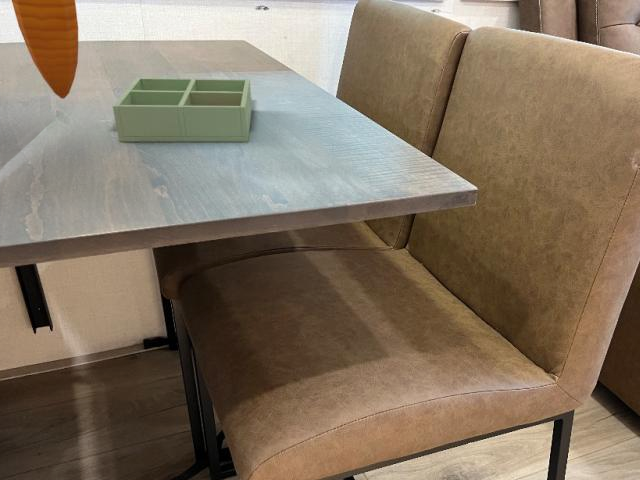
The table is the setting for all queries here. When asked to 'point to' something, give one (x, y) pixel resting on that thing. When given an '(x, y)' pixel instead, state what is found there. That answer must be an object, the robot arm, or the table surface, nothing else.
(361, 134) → the table surface
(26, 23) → the carrot
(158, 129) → the grid
